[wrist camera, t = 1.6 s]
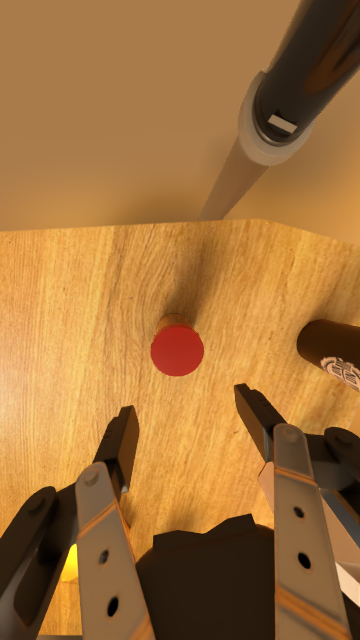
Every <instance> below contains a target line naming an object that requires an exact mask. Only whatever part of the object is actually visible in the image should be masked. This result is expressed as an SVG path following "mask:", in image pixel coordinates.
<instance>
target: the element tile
mask: <svg viewBox="0 0 360 640" xmlns="http://www.w3.org/2000/svg"><path fill="white" fill-rule="evenodd" d="M125 523H126V522H125ZM126 527H127V530H128V533H129V526H128V525H127V523H126ZM60 578H61V579H62V580H63V581H70V580H74V579H76V578H78V565H77V552H76V544H75V545H73V546H72V547H71V550H70V552H69V555H68V557H67V560H66V563H65V565H64V568H63V570H62V573H61V576H60Z"/></svg>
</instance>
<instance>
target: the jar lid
mask: <svg viewBox="0 0 360 640" xmlns="http://www.w3.org/2000/svg"><path fill="white" fill-rule="evenodd" d="M203 354H204V347H203V343H202V341H201V339H200V337H199V334H198V333H196V331H195V330H194V329H193V328H191V326H188V325H185V324H181V323H173V324H171V323H170V324H169V325H166V326H164V327H163V328H161V329H160V330H159V331H158V332H157V333H156V335H154V339H153V342H152V344H151V358H152V361H153V363H154V365H155V366H156V368H157V369H158V370H160V371H161V372H162V373H164V374H166V375H169V376H184V375H187V374H189V373H191V372H193V371H194V370H195V369H196V368H197V367H198V366H199V364H200V363H201V361H202V358H203Z"/></svg>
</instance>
